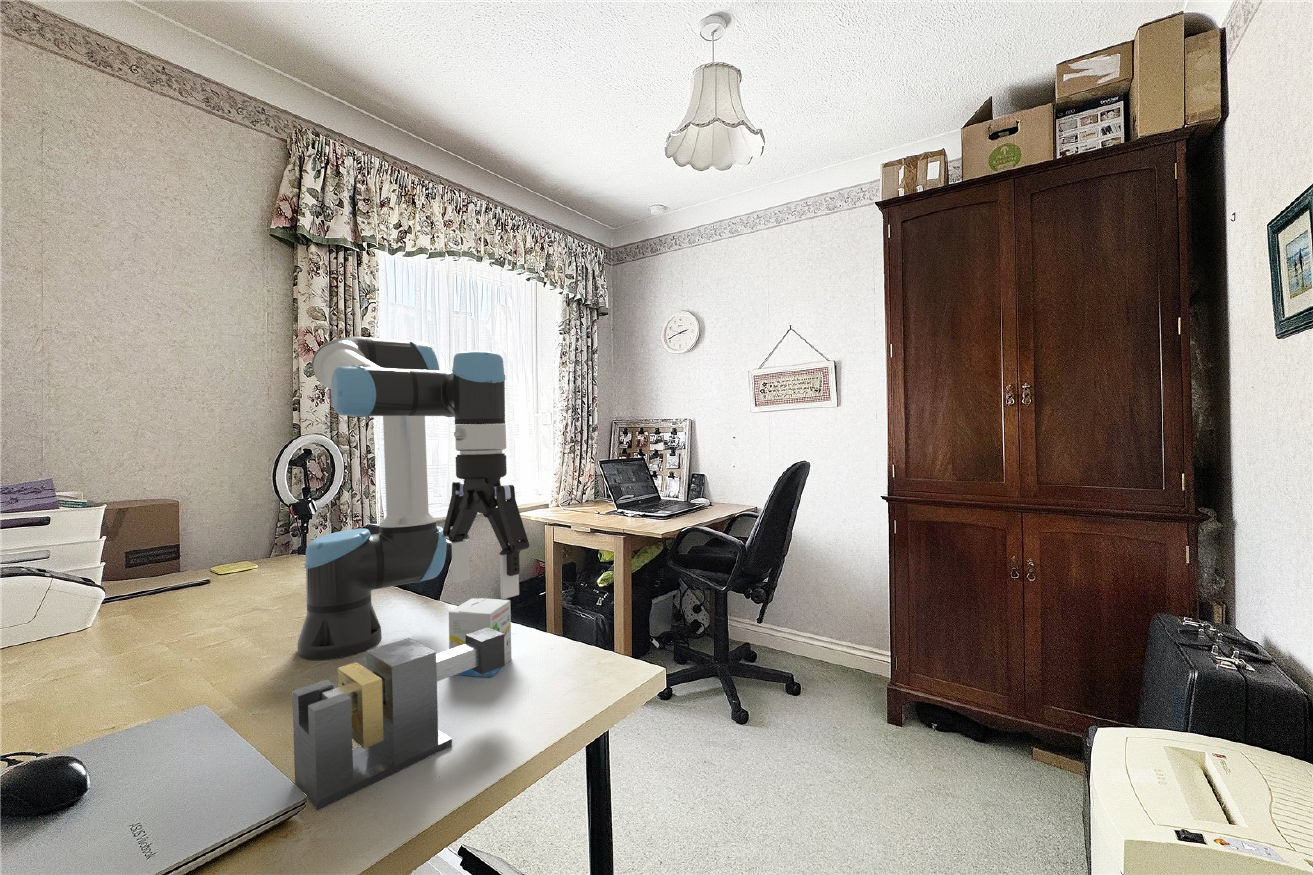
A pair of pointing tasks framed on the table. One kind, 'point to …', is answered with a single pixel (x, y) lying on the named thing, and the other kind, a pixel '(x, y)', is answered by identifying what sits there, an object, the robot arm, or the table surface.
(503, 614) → the ink box
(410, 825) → the table surface
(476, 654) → the shaft
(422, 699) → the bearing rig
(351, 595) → the robot arm
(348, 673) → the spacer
